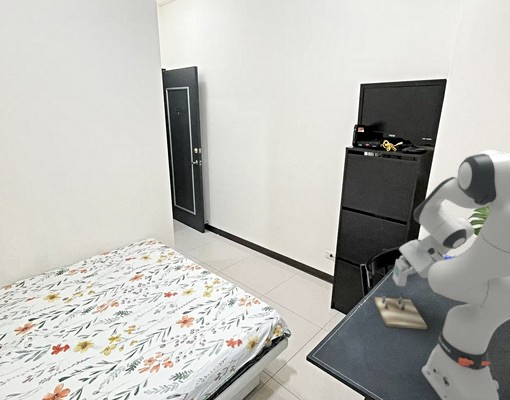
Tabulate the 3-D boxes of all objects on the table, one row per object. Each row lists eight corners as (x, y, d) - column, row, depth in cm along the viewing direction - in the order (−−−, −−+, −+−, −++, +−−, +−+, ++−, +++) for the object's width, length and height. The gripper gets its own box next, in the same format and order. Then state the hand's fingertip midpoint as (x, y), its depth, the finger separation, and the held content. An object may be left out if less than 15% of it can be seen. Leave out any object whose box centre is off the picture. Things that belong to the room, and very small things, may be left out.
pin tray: (426, 329, 111) (429, 320, 110) (386, 326, 112) (388, 316, 111) (409, 302, 126) (411, 293, 125) (374, 300, 127) (375, 291, 126)
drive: (405, 286, 115) (409, 266, 112) (397, 285, 115) (401, 265, 113) (399, 278, 120) (403, 259, 118) (392, 278, 121) (396, 259, 118)
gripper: (414, 232, 122) (386, 252, 126) (438, 256, 102) (404, 278, 106) (422, 243, 123) (395, 261, 127) (448, 268, 103) (415, 289, 107)
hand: (399, 269), depth 116 cm, fingers closed on drive, 5 cm apart
